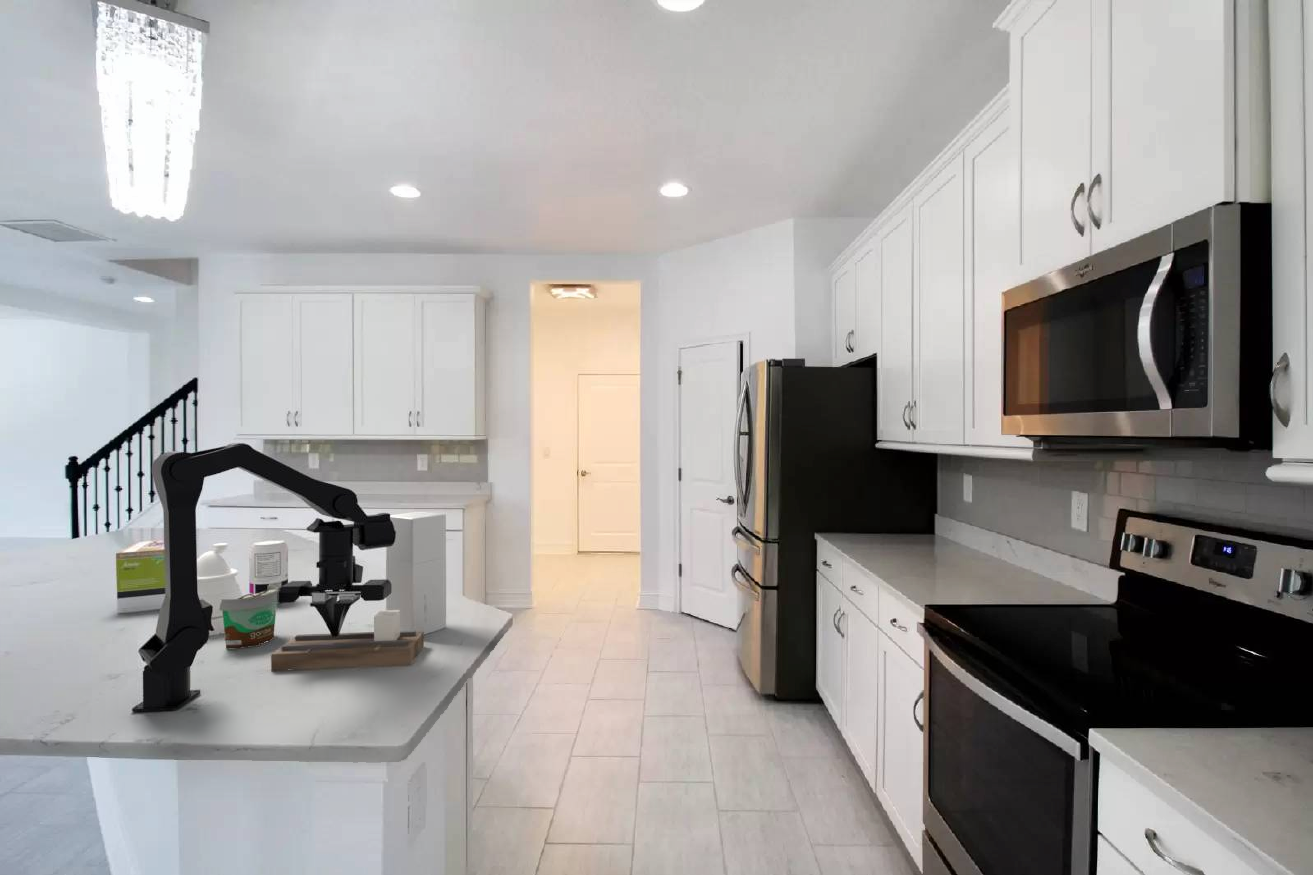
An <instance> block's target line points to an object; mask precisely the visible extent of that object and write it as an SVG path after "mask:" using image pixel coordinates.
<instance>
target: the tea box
mask: <svg viewBox="0 0 1313 875" xmlns="http://www.w3.org/2000/svg"><path fill="white" fill-rule="evenodd" d="M115 571H116V574H115V575H116V602H117V603H116V605H117V613H118V614H126V613H127V614H128V613H137V612H146V611H155V610H156V611H158V610H160V609H161V606H162V604H163V601H164V598H165V557H164V539H162V540H161V539H159V540H150V541H149V540H148V541H137V542H134V543H133V544H131V545H129V546H127V547H125V548H123V549H121V550H120V551H118V552H116V553H115Z"/></svg>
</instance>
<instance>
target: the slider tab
mask: <svg viewBox="0 0 1313 875" xmlns="http://www.w3.org/2000/svg"><path fill="white" fill-rule="evenodd" d="M373 629H374V630H373V632H374V641H393V640H397V639H398V638H399V636H400V610H387V611H386V610H380V611H378V612H377V614H375V615H374V617H373Z"/></svg>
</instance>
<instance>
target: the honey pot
mask: <svg viewBox="0 0 1313 875" xmlns="http://www.w3.org/2000/svg"><path fill="white" fill-rule="evenodd" d="M212 547H213V549H214V550H209V551H206V552H204V553H202V554H201V555H200V556H199V557H197V589H198V597H199V599H200V600H201V599H203V600H204V601H206V602H207V603H209V604H211V605H212V606H213V612H212V617H211V623H212V626H213V628H214V631H210V630H209V637H210V635H211V636H216V635H221V634H225V633H224V622H223V612H222V611H220V610H219V609H220V603H222V599H225V600H226V599H238V598H240V597H242V596H243V595H242V590H241V589H240V587H241V585H240V584H239V583H238V581H237V580H236V576H237V575H238V574H239V570H237V569H235V568H231V567H230V565H229V564H228V563H227V561H226V560H225V558H223V556H222V555H220V554H223V553H224V552H226V550H227V547H228V543H226V542H225V543H224V542H222V543H221V542H220V543H214V544H213V546H212ZM220 633H221V634H220Z"/></svg>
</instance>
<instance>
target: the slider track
mask: <svg viewBox="0 0 1313 875" xmlns="http://www.w3.org/2000/svg"><path fill="white" fill-rule="evenodd" d="M424 639H425V635H424V632H416V630H415V631H400V636H399V638H398V639H397V640H393V641H374V631H369V632H368V631H367V632H366V631H365V632H363V631H362V632H361V631H360V632H340V633H339V635H338V636H337V637H332V635H331V633H312V634H311V633H310V634H307V633H306V634H296V635H295V636H294V637H292V638H291V639H290V640H288V641H287V642H286V643H284V644H283V645H281V647H279V648H278V649H277V650H275V651H274V652H272V653H271V654H270V656H271V657H270V658H271V659H270V668H271V669H270V671H271V672H275V671H274V670H285V671H289V670H288V669H308V670H326V669H327V670H328V669H349V668H350V669H351V668H353V669H354V668H373V667H375V668H376V667H378V668H379V667H396V666H411V665H412V664H413V662H414V661H415V660H416V658H417V656H418V655H419V654H420V653H421V651H422V649H423V648H424V644H425V643H424V642H425V641H424Z"/></svg>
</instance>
